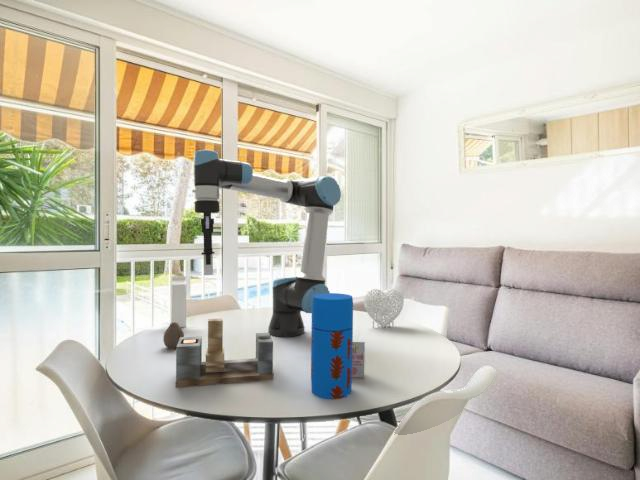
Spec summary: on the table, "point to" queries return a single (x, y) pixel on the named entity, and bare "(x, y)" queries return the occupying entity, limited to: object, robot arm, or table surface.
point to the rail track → (225, 378)
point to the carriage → (215, 346)
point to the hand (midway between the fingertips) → (208, 274)
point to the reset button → (189, 341)
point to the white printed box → (358, 360)
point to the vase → (173, 335)
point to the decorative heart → (383, 306)
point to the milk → (178, 300)
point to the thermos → (331, 345)
